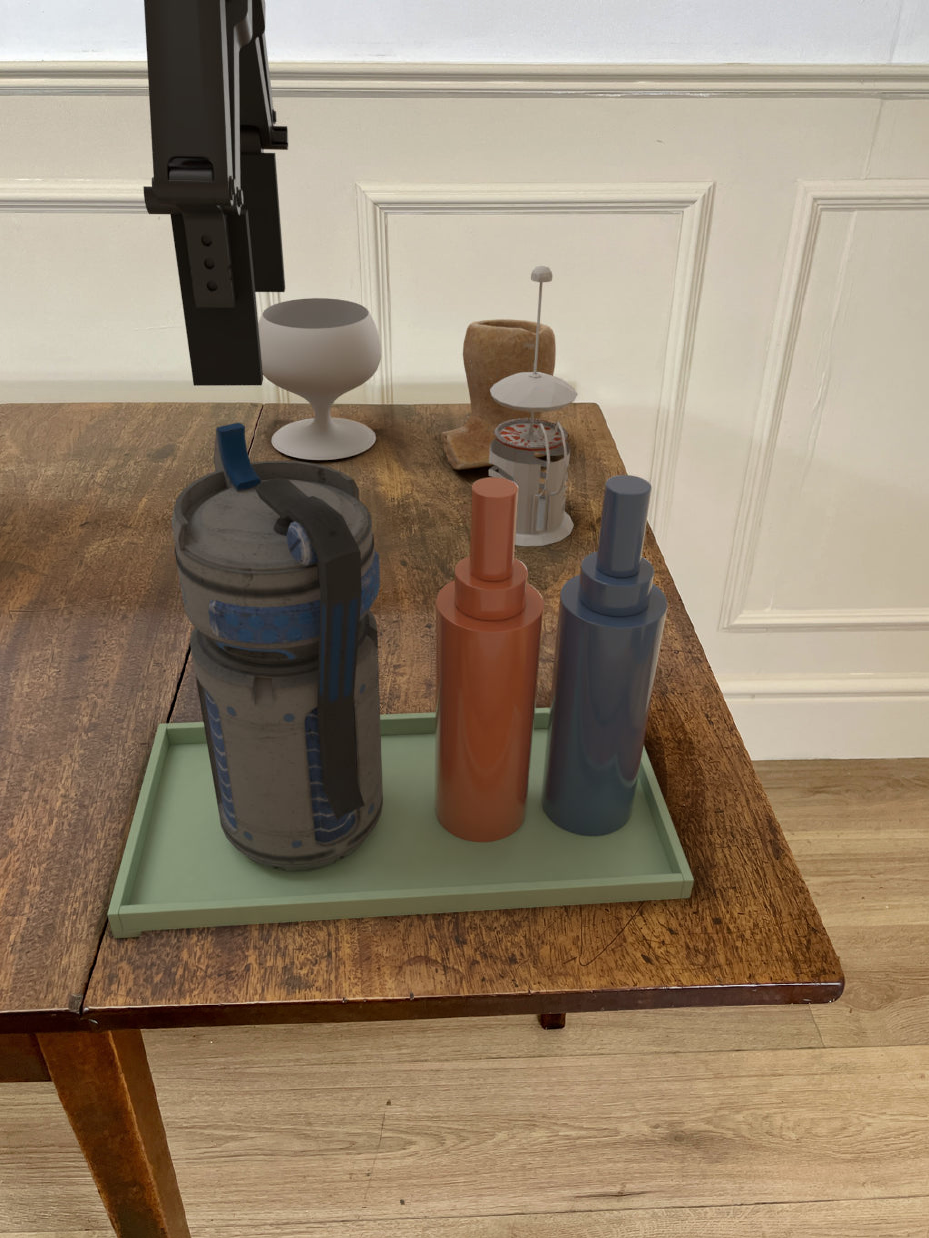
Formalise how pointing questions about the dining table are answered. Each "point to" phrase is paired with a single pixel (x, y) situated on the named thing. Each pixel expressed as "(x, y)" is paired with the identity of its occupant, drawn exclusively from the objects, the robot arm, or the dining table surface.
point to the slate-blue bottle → (604, 671)
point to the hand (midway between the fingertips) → (245, 331)
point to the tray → (378, 849)
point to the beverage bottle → (284, 652)
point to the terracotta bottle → (486, 676)
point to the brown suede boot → (486, 362)
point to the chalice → (320, 370)
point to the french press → (534, 447)
